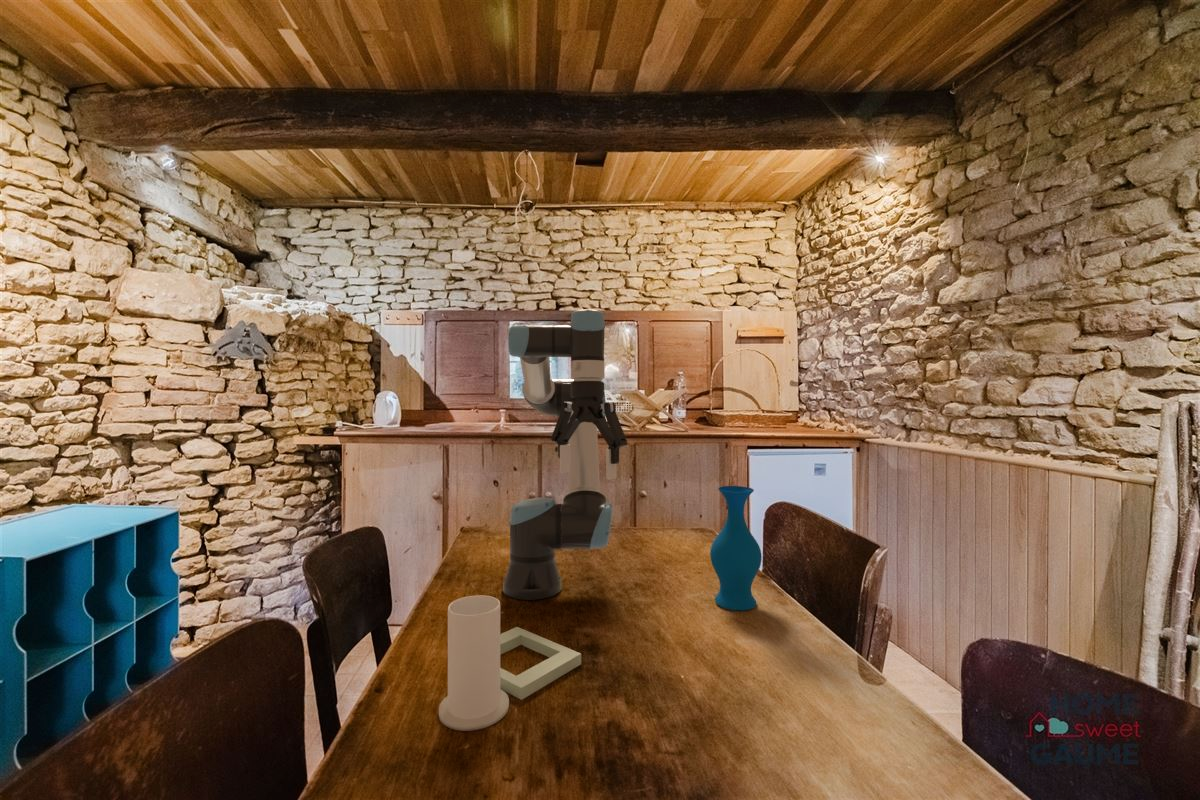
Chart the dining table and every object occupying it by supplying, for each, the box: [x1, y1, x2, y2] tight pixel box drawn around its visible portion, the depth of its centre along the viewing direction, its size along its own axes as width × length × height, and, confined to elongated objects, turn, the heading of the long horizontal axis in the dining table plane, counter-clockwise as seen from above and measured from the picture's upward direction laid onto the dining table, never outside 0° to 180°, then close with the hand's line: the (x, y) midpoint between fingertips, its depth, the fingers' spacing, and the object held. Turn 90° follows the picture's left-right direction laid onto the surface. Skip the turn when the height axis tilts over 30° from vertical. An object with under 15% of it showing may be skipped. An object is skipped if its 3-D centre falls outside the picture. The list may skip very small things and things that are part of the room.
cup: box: [447, 594, 501, 719], centre depth 84 cm, size 8×8×16 cm
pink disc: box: [438, 689, 510, 732], centre depth 84 cm, size 11×11×1 cm
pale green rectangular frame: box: [500, 626, 582, 701], centre depth 98 cm, size 18×15×2 cm
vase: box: [709, 485, 763, 612], centre depth 127 cm, size 12×13×28 cm
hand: (587, 475), depth 116 cm, fingers open, 13 cm apart
